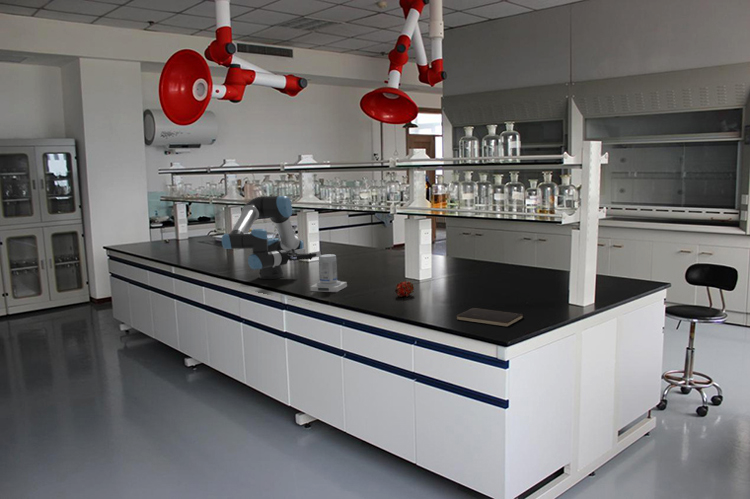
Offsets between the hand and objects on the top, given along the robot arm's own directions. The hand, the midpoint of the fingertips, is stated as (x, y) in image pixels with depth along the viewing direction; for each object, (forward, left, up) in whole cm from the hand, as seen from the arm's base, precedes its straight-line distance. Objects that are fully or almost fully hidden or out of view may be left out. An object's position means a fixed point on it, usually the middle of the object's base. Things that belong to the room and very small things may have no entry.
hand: (312, 252), depth 311 cm
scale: (-9, +5, -21) cm, 23 cm away
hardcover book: (+37, +97, -22) cm, 106 cm away
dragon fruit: (+2, +50, -21) cm, 55 cm away
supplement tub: (-9, +5, -18) cm, 20 cm away
